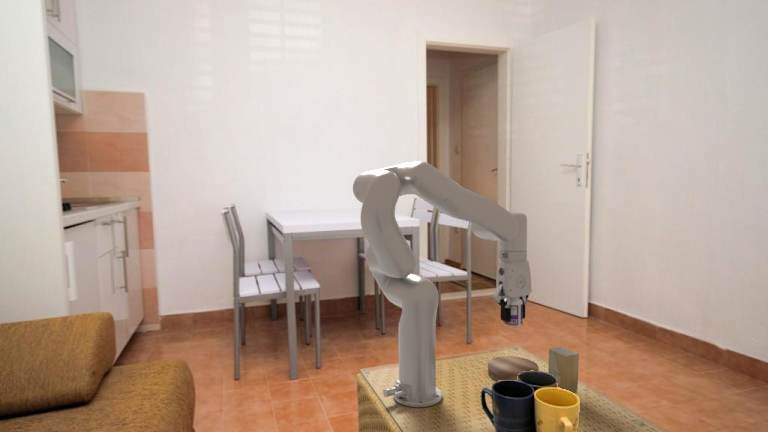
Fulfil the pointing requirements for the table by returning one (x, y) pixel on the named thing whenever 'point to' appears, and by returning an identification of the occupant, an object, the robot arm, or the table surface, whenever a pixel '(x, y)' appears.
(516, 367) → the walnut base
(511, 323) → the pill bottle
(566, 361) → the skincare box
